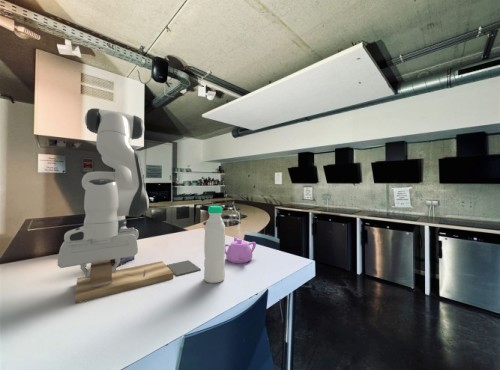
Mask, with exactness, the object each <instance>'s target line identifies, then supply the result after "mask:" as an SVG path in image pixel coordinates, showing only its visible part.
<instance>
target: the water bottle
mask: <svg viewBox="0 0 500 370" xmlns="http://www.w3.org/2000/svg"><path fill="white" fill-rule="evenodd" d="M207 213H208V215H209V217H208V219H207V221H206V223H205V226H204V243H203V244H204V247H203V248H204V262H203V267H204V271H203V279H204V281H205V282H206V283H208V284H209V283H210V284H217V283H221V282H223V281H224V280H225V278H226V269H225V266H226V259H225V258H226V254H225V249H226V247H225V244H226V232H225V231H226V225H225V222H224V221H223V218H222V214H223V207H222V206H221V205H210V206H208V208H207Z"/></svg>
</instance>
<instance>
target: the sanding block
mask: <svg viewBox="0 0 500 370" xmlns="http://www.w3.org/2000/svg"><path fill="white" fill-rule="evenodd" d="M90 270H91V288H94V287H98V286H102V285H107V284H111V283H112V265H111V262H110V260H106V261H100V262H94V263H90Z"/></svg>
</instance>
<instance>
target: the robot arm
mask: <svg viewBox="0 0 500 370" xmlns="http://www.w3.org/2000/svg"><path fill="white" fill-rule="evenodd" d="M84 123H85V126H86V129H87V130H88V131H89V132H91V133H93V134H96V143H95V144H96V150H97V151H98V153H99V154H100V155H101V160H102V162H103V163H104V164H105V165H106V166H108V167H110V168H112V169H113V170H115V171H100V170H99V171H97V170H96V171H90V172H89V171H88V172H86V173H85V174H84V175H83V177H82V179H81V186H82V188H83V189H84V190H85V192H84V200H83V210H84V212H85V217H84V220H83V225H82V226H80V227H76V228H74V229H69V230H68V231H66V232H65V233H64V236H63V240H64V241H63V242H62V244H61V246H60V248H59V252H58V254H57V255H58V256H57V264H56V265H57V266H58V267H59V268H60V269H64V268H70V267H75V266H77V267H78V266H80V269H81V271H82V273H84V277H85V279H86V278H91V269H90V270H88V269H87V264H91V263H94V262H100V261H106V260H112V259H115V264H114V266H112V273H116V270H117V268H118V267H119V266H118V264H119V263H120V258H124V257H129V256H136V255H137V254H138V253H139V248H138V247H139V246H138V239H139V235H140V234H139V233H140V232H139V230H138V229H136V228H135V227H127V219H126V217H141V216H142V215H143V214H145V213H146V212H148V209H149V207H150V200H149V196H148V192H147V190H146V185H145V184H146V183H145V179H144V178H145V177H144V174H143V167H142V164H141V158H140V154H139V152H138V151H136V150H134V148H132V146H131V140H138V139H140V138H142V136H143V135H144V133H145V124H144V122H143V119H142V118H141V117H139V116H136V115H131V114H129V113H125V112H121V111H115V110H114V111H113V110H107V109H100V108H90V109H88V110H87V112H86V114H85V116H84ZM117 266H118V267H117Z"/></svg>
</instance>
